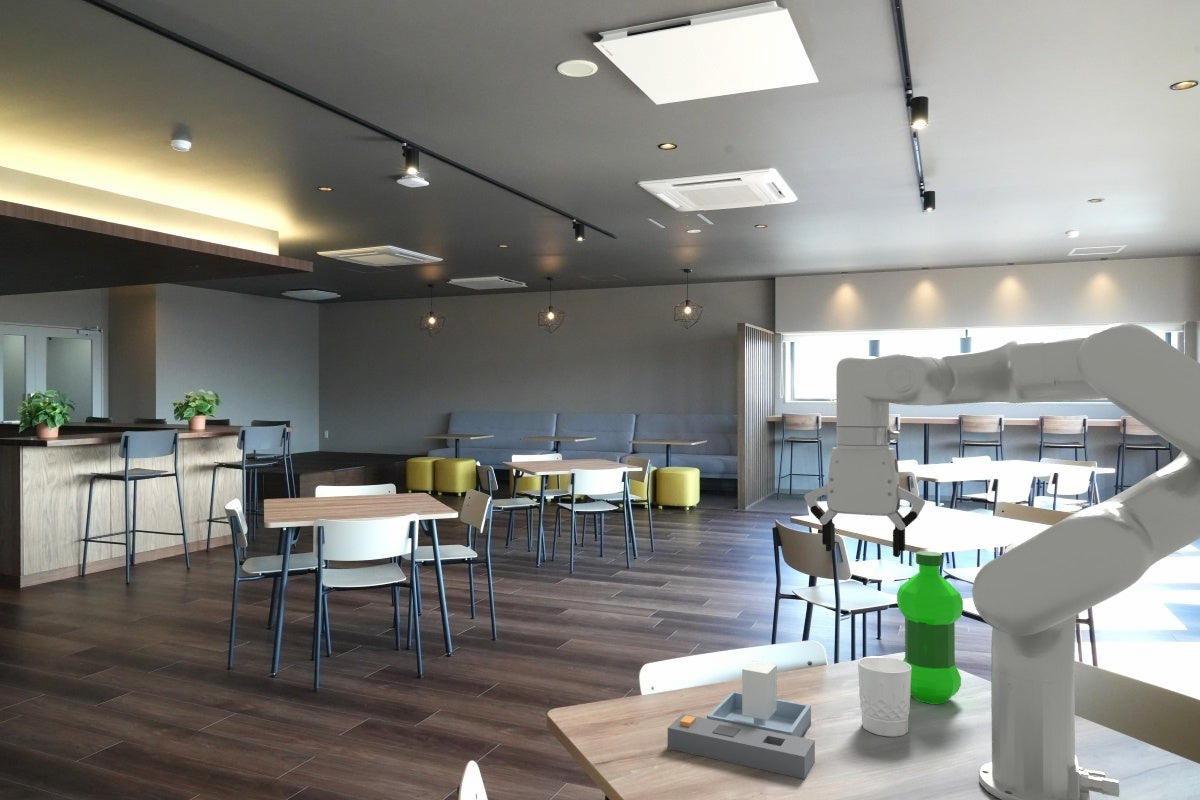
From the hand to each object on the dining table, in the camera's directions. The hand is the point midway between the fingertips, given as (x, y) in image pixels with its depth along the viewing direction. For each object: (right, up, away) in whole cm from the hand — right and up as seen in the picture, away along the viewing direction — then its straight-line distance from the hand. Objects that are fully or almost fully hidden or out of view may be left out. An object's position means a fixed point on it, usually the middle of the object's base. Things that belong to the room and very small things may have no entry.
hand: (863, 552), depth 116 cm
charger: (-15, -28, +4) cm, 32 cm away
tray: (-15, -28, +4) cm, 32 cm away
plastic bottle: (+18, -29, +17) cm, 38 cm away
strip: (-19, -28, -5) cm, 35 cm away
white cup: (+5, -29, +5) cm, 29 cm away
